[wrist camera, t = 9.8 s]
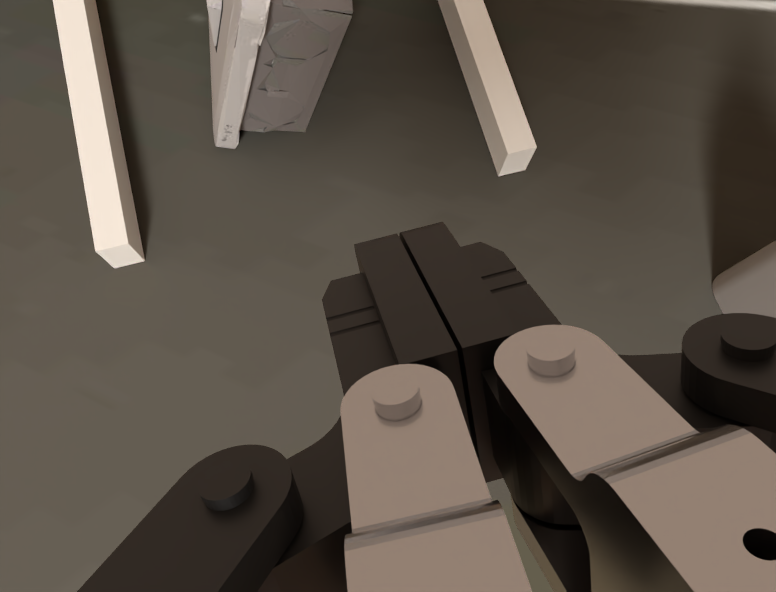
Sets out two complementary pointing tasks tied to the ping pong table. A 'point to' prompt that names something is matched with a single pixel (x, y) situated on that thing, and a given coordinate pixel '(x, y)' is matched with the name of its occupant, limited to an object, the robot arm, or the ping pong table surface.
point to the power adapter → (749, 284)
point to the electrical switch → (270, 62)
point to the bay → (104, 141)
